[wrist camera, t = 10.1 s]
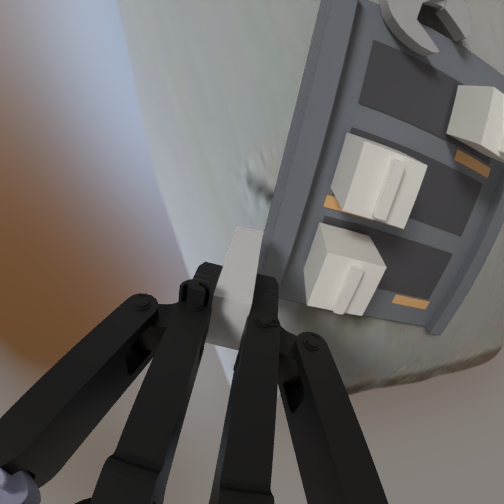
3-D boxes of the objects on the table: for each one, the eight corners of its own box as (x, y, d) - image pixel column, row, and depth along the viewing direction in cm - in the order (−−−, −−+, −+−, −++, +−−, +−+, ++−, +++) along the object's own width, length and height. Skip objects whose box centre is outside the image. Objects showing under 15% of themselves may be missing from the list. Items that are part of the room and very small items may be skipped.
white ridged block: (319, 222, 19) (328, 258, 15) (369, 235, 19) (389, 272, 15) (303, 268, 20) (307, 311, 16) (350, 279, 20) (363, 322, 16)
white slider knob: (346, 132, 16) (368, 142, 12) (399, 151, 16) (432, 168, 12) (330, 187, 17) (344, 215, 13) (381, 203, 17) (407, 233, 13)
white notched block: (458, 85, 13) (500, 87, 9) (494, 109, 13) (536, 118, 9) (446, 133, 15) (486, 146, 11) (482, 154, 15) (523, 172, 11)
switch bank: (322, -8, 13) (327, -19, 11) (524, 100, 13) (541, 103, 11) (251, 282, 23) (247, 299, 21) (435, 320, 24) (443, 335, 22)
